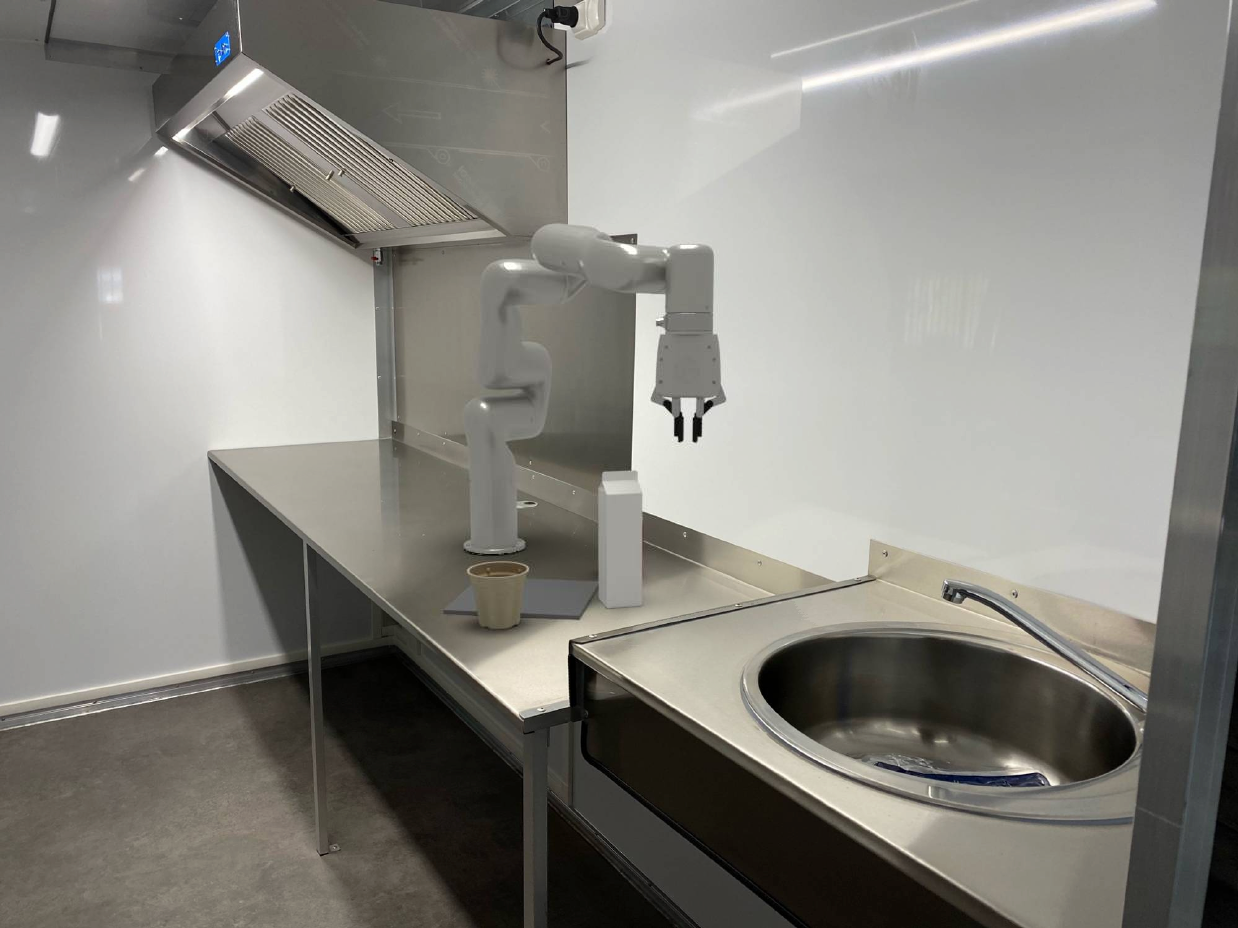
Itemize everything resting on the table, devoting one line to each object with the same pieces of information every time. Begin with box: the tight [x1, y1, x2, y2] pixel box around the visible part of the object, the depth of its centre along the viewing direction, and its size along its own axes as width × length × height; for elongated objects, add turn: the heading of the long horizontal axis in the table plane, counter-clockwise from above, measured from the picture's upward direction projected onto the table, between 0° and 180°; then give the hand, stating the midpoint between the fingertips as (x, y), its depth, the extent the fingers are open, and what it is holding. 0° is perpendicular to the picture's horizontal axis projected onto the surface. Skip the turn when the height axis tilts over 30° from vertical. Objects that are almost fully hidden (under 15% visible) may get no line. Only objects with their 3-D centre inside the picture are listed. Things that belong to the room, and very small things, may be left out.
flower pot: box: [466, 560, 530, 630], centre depth 142 cm, size 9×9×9 cm
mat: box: [443, 578, 599, 620], centre depth 156 cm, size 20×22×1 cm
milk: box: [597, 470, 643, 610], centre depth 152 cm, size 6×6×22 cm
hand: (687, 440), depth 148 cm, fingers closed
